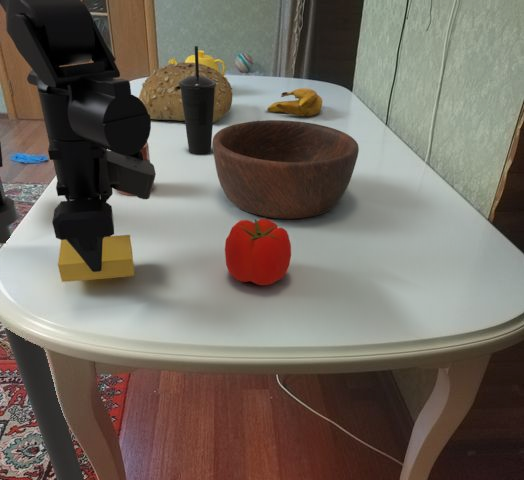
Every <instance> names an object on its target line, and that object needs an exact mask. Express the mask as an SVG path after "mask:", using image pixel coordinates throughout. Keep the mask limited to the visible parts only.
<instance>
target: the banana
mask: <svg viewBox="0 0 524 480" xmlns="http://www.w3.org/2000/svg"><path fill="white" fill-rule="evenodd" d="M289 96H294V98H295V100H282V101H276V102H274V103H272V104H271V105H269V106H268V107H267V112H274V113H285V114H288V115H289V114H290V115H295V116H300V117H313V116H316V115H318V114H319V113H320V111H321V109H322V107H323V98H322V97H321V95H319V94H318V93H317V91H315V90H313V89H311V88H305V87H304V88H302V87H301V88H296V89H294V90H292V91H288V92H287V91H284V92H282V93H281V96H280V97H281V98H284V97H289Z"/></svg>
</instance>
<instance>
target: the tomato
mask: <svg viewBox="0 0 524 480" xmlns="http://www.w3.org/2000/svg"><path fill="white" fill-rule="evenodd" d="M224 244H225V245H224V256H225V265H226V268H227V270H228V273H229V274H230V276H231V277H232V278H234V279H235V280H237V281H240V282H243V283H244V282H245V283H247V282H252V283H253V284H256V285H259V286H269V285H273V284H274V283H276V282H277V281H280V280H281V279H283V278H284V277H285V276H286V274H287V272H288V270H289V267H290V264H291V257H292V244H291V240H290V237H289V233H288V231H287V230H286V229H285V228H284V227H279V225H278V224H277V223H275V222H274V221H272V220H271V219H268V218H260V219H255V218H254V222H253V221H251V220H249V219H242V220H239V221H238V222H236V223H235V224H234V225H233V226H232V227H231V229H230V231H229V233H228V236H227V237H226V238H225V243H224Z"/></svg>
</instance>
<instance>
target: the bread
mask: <svg viewBox="0 0 524 480" xmlns="http://www.w3.org/2000/svg"><path fill="white" fill-rule="evenodd" d="M220 72H221V71H220ZM220 72H218V71H217V70H215V69H213V68H211V67H208V66H205V65H202V64H199V75H200V76H205V77H207V78H209V79H211V80H213V81H215V82H216V87H215V96H214V111H213V123H216V122H219V121H221V120H222V119H223V118H224V117H225V116H227V114H228V113H229V112H230V110H231V107H232V104H233V94H234V93H233V88H232V85H231V83H230V82H229V80H228V81H227V80H226V78H227V77H226V76H225V75H224V76H222V72H221V73H220ZM193 75H196V71H195V63H185V61H184V62H183V61H181V62H179V63H178V64H174V63H173V64H172V63H170V64H169V63H168V64H167V65H164V66H162V67H159V68H157V69H154V70H153V72H152V73H151V74H150V75H149V76H148V77H147V78H146V79H145V80H144V82H142V84H141V85H142V87H141V90H140V93H139V96H138V98H139V99H140V100H141V101H142V102H143V104H144V105H145V107H146V109H147V112H148V114H149V115H150V119H151V120H160V121H161V120H162V121H182V122H185V118H184V110H183V103H182V95H181V88H180V86H179V81H181V80H183V79H185V78H186V77H189V76H193ZM225 77H226V78H225Z"/></svg>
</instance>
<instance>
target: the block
mask: <svg viewBox="0 0 524 480" xmlns="http://www.w3.org/2000/svg"><path fill="white" fill-rule="evenodd" d="M133 254H134V253H133V247H132V239H131V234H122V235H120V234H119V235H111V236H109V237H104V238H103V245H102V269H101V271H99V272H93V271H92V270H91V269H90V268H89V267H88V265H87V264H86V263H85V262H84V260H83V259H82V258H81V257H80V255H79V254H78V253H77V252H76V250H75V249H74V248H73V247H72V246H71V245H70V243H69V242H68V241H67V240H60V247H59V254H58V261H57V269H58V271H59V276H60V279H61V283H65V282H67V283H68V282H76V281H77V282H79V281H90V280H101V279H102V280H103V279H112V278H113V279H115V278H124V277H125V278H126V277H135V268H134V267H135V265H134V255H133Z"/></svg>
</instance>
